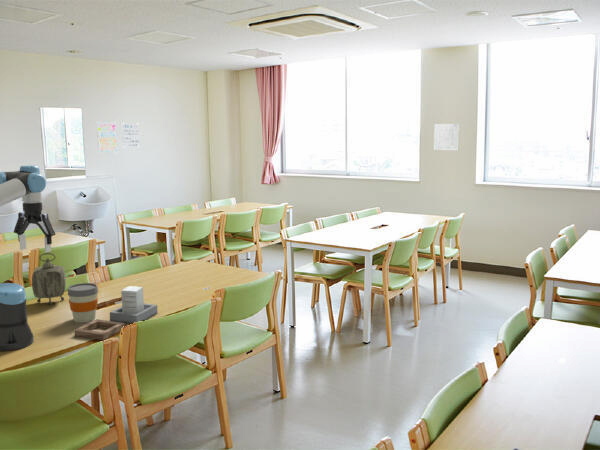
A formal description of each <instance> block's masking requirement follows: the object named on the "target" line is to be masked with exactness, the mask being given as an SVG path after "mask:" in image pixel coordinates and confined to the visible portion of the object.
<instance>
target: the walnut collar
mask: <svg viewBox="0 0 600 450" xmlns="http://www.w3.org/2000/svg"><path fill="white" fill-rule="evenodd" d="M123 326H125V323H122V322H115V321H110V320H104V319H98V318H97V319H96V318H95V319H94V320H93V321H90V322H87V323H85V324H84V325H82V326H80V327H78V328H75V329H73V330H74V337H79V338H85V339H93V340H99V341H105V340H106V339H108V338H110V337H112V336H114V335H115V334H117V333H119V332H121V331H122V330H121V328H122V327H123ZM97 328H104V329H106V330H103V331H96V330H95V329H97ZM120 330H121V331H120Z"/></svg>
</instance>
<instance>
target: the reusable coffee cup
mask: <svg viewBox="0 0 600 450" xmlns="http://www.w3.org/2000/svg"><path fill="white" fill-rule="evenodd" d="M98 293H99V288H98V284H97V283H91V282H83V283H76V284H72V285H70V286H68V288H67V295H68V297H69V299H68V303H69V308H70V311H71V313H72V318H73V321H74V322H75V323H80V324H81V323H90V322H92V321H94V320H96V313H97V308H98V301H99V297H98Z"/></svg>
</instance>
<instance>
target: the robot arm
mask: <svg viewBox="0 0 600 450" xmlns="http://www.w3.org/2000/svg"><path fill="white" fill-rule="evenodd" d="M46 186H47V181H46V178H45V177H44V176H43V175H42V174H41V171H40V167H39V166H37V165H20V166H19V170H17V171H15V170H14V171H0V208H1V207H2V206H5V205H7V204H9V203H11V202H13V201H16V200H18V199H20V198H21V201H22V202H23V203H22V211H21V212H18V214H17V217H18V218H17V220H16V223H15V226H14V230H13V233H14V234H17V237H18V239H17V240H18V242H19V250H21V251H22V250H26V249H27V239H26V233H25V232H26V230H27V228H28V227H29V226H30V224H33V225H36V226H38V228H39V229H40V230H41V232H42V233H43V235H44V237H43V238H44V241H43V242H44V253H51V252H52V244H53V243H52V242H53V240H52V237H53V236H56V231H55V230H54V227H53V225H52V223H51V221H50V218H49V214H48V213H42V211H43V202H42V192H43V191H44V190H45V189H46ZM25 290H26V289H25V288H24V286H23V285H21V284H19V283H14V282H12V283H11V282H10V283H9V282H2V283H0V352H3V351H4V352H6V351H7V352H8V351H14V350H19V349H22V348H25V347H29V346H30V345H32V344H33V343H34V340H35V338H34V337H35V336H34V333H33V332H32V330H31V327H30V325H29V323H28V313H27V311H28V310H27V295H26V291H25Z"/></svg>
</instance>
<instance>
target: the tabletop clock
mask: <svg viewBox="0 0 600 450" xmlns="http://www.w3.org/2000/svg"><path fill="white" fill-rule="evenodd" d="M44 255H51V256H53V258H52V259H49V258H46V260H45V259H42V257H43V256H44ZM55 259H56V255H55V254H54V253H52V252H44V253H42V254H40V256H39V260H40V261H41V262H43V263H42V266H38V267H36V268H34V270H33V273H32V276H31V288H32V292H33V293H32V294H33V295H34V297H35V298H37V300H36V302H37V303H40V302H41V299H48V305H52V304H53V302H52V299H53V298H58V297H60V300H61V301H64V300H65V297H64V294H65V290H66V284H67V283H66V280H67V278H66V270H65V268H64V267H63V266H62V265H58V264H57V265H54V263H53V261H54V260H55Z"/></svg>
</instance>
